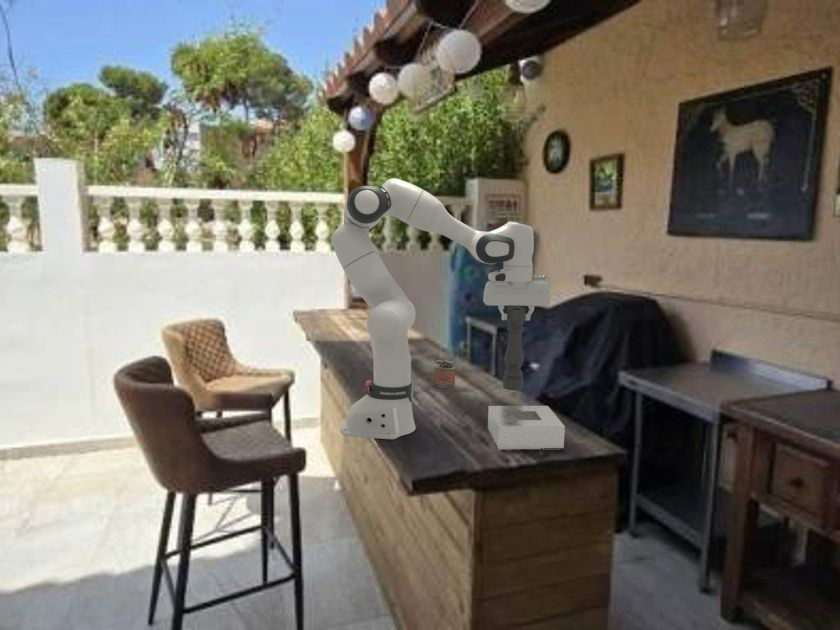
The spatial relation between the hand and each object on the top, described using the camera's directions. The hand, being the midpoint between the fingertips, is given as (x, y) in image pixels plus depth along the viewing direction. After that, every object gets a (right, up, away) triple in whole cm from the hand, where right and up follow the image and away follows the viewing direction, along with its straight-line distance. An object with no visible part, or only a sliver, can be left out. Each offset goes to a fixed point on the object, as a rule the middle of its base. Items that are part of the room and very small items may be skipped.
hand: (515, 320), depth 184 cm
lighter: (-20, -26, +42) cm, 53 cm away
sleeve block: (0, -34, -12) cm, 36 cm away
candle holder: (0, -21, +3) cm, 22 cm away
